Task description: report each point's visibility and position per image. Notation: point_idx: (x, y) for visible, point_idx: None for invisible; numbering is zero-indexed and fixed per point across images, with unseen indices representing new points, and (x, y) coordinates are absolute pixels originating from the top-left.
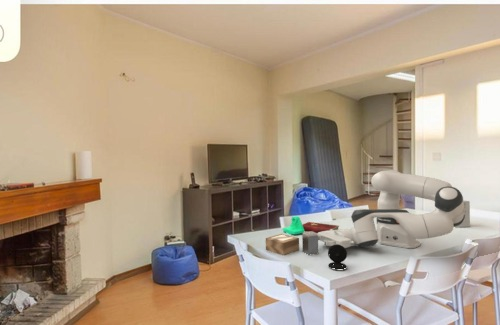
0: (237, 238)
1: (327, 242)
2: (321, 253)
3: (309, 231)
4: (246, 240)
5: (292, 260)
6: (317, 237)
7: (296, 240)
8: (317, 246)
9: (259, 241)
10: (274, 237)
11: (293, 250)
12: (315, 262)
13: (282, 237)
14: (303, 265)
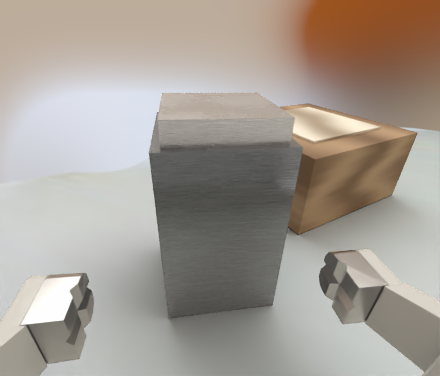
0: (435, 131)
1: (22, 296)
2: (164, 353)
3: (279, 108)
4: (418, 139)
5: (139, 176)
6: (152, 173)
7: None
8: (163, 260)
9: (422, 156)
10: (314, 110)
11: None
12: (33, 233)
13: (316, 121)
14: (55, 186)
